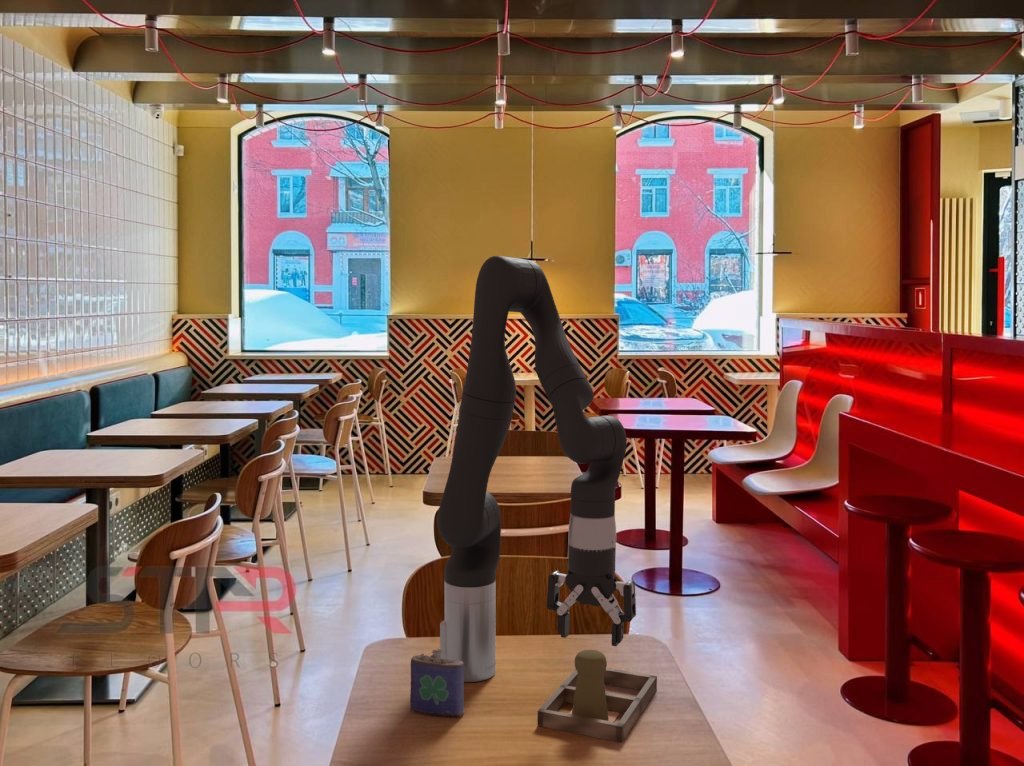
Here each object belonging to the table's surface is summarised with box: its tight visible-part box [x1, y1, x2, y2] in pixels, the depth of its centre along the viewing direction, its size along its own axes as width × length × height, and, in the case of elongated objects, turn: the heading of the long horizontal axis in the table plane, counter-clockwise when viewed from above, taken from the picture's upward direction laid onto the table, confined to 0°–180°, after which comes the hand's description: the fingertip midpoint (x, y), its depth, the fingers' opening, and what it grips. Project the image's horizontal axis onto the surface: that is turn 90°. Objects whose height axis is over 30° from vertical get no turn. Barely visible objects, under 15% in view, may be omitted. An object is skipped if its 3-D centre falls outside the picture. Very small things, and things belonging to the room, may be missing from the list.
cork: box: [571, 649, 609, 721], centre depth 155 cm, size 6×6×11 cm
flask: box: [409, 648, 465, 719], centre depth 157 cm, size 9×3×11 cm, turn 74°
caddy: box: [537, 667, 658, 743], centre depth 160 cm, size 14×21×2 cm, turn 157°
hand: (590, 640), depth 154 cm, fingers open, 8 cm apart
